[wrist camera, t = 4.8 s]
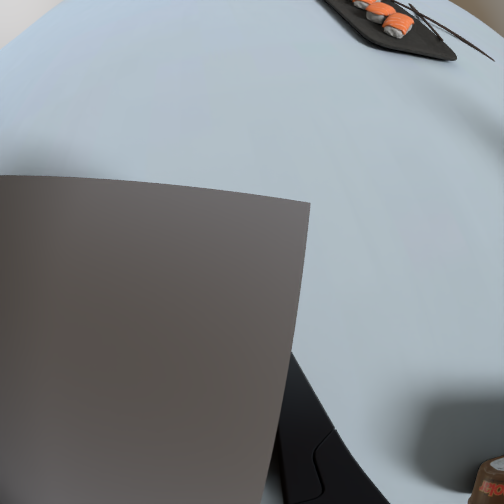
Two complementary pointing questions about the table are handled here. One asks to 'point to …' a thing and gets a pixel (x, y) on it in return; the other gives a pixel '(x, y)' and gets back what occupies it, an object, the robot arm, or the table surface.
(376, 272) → the table surface
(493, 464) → the tin
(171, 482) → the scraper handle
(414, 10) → the sushi plate
